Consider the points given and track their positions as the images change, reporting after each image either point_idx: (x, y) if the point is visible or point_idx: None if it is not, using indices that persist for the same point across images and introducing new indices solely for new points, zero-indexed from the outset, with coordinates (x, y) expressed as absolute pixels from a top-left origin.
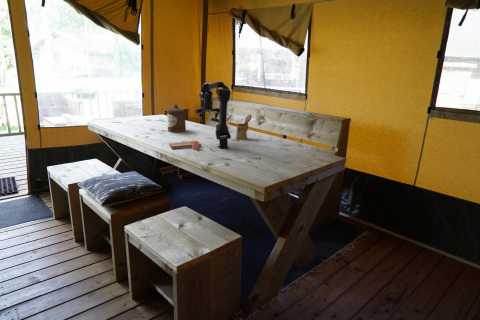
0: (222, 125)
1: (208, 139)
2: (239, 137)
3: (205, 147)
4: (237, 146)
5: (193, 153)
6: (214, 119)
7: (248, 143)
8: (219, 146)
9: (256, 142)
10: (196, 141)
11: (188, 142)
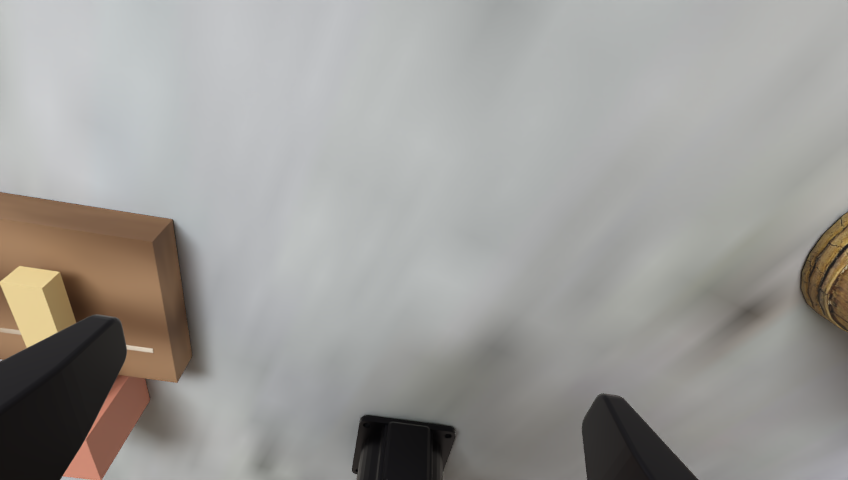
0: None
1: (427, 53)
2: (833, 312)
3: (233, 386)
4: (539, 465)
5: None
6: (624, 478)
7: (717, 439)
8: (360, 451)
9: (818, 443)
10: (79, 475)
11: (7, 265)
